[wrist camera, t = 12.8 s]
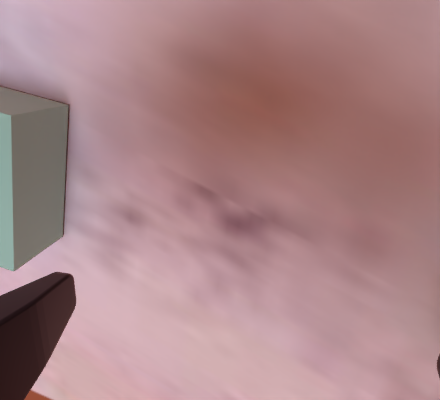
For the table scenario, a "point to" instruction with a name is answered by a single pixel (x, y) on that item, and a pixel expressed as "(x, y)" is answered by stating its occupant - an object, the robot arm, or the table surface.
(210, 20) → the table surface
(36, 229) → the socket block
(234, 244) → the table surface
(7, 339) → the robot arm
